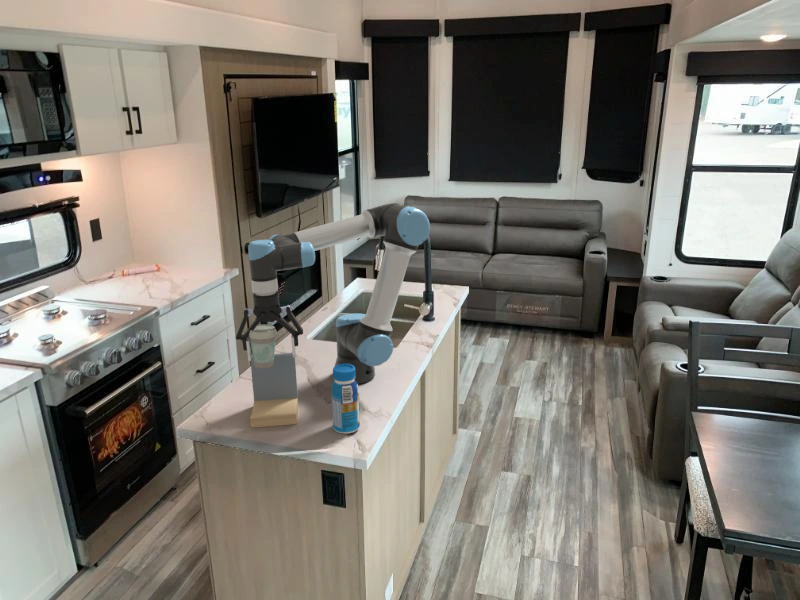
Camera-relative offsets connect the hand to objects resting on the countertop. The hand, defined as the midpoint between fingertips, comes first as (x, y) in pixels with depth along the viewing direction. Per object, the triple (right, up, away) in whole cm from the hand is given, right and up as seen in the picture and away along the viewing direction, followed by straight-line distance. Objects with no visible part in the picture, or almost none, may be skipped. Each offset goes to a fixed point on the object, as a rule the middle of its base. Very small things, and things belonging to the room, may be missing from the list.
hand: (272, 357), depth 183 cm
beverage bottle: (+23, -21, -2) cm, 32 cm away
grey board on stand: (0, -19, +6) cm, 20 cm away
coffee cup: (-3, -2, 0) cm, 4 cm away
